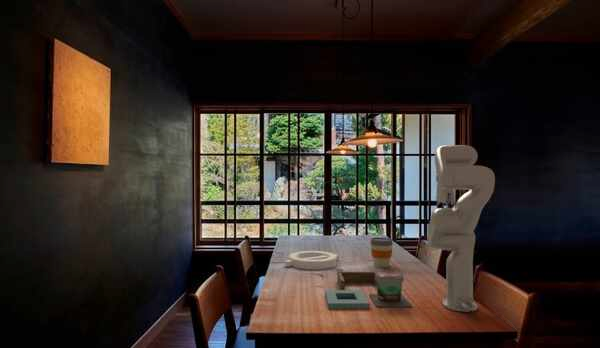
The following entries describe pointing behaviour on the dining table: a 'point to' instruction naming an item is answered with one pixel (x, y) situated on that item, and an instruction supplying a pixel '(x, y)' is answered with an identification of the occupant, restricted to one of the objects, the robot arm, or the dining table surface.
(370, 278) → the walnut cubby
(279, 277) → the dining table surface
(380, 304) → the charcoal mat
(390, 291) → the food container
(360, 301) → the hole plate
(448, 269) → the robot arm
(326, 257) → the ring with crossbar
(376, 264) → the reusable coffee cup
